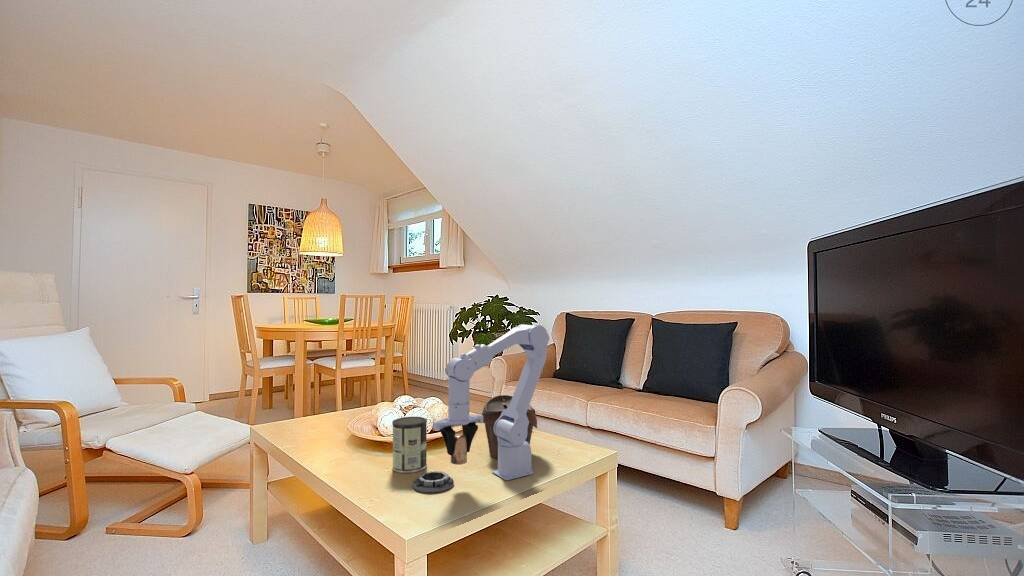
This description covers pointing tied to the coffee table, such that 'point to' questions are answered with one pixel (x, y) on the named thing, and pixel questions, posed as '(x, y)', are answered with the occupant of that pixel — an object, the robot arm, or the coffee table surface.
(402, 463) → the coffee can
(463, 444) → the pipe stub
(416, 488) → the flange
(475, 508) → the coffee table surface
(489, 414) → the brown trash bin
